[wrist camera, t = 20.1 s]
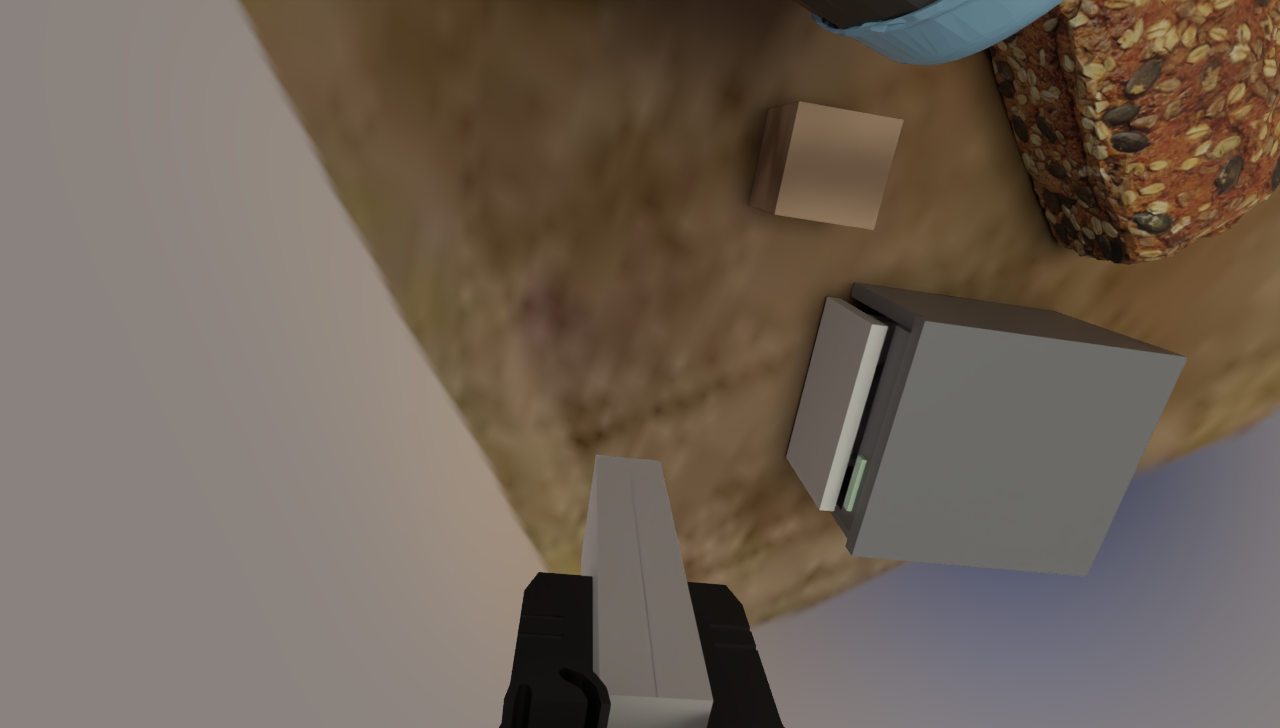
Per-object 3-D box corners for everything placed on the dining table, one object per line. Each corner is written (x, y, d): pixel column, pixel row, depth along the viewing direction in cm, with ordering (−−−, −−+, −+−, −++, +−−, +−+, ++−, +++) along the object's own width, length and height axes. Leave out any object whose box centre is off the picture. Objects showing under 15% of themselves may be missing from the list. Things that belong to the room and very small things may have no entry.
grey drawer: (827, 296, 42) (872, 324, 36) (1031, 325, 44) (1110, 356, 38) (786, 457, 46) (819, 509, 40) (974, 477, 48) (1037, 530, 42)
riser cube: (768, 108, 38) (799, 101, 33) (858, 124, 39) (903, 119, 33) (748, 205, 40) (774, 214, 35) (835, 219, 41) (873, 229, 35)
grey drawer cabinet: (843, 280, 42) (920, 320, 33) (1055, 311, 44) (1187, 357, 35) (793, 470, 47) (847, 555, 37) (986, 490, 49) (1086, 576, 39)
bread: (952, -5, 37) (1074, -58, 28) (1117, -108, 36) (1302, -199, 27) (1044, 256, 43) (1169, 285, 34) (1187, 175, 42) (1359, 182, 33)
